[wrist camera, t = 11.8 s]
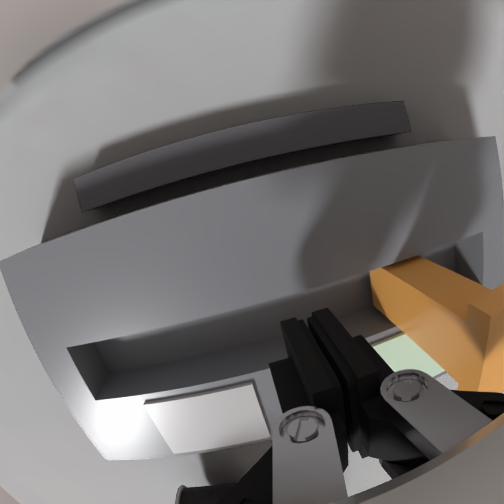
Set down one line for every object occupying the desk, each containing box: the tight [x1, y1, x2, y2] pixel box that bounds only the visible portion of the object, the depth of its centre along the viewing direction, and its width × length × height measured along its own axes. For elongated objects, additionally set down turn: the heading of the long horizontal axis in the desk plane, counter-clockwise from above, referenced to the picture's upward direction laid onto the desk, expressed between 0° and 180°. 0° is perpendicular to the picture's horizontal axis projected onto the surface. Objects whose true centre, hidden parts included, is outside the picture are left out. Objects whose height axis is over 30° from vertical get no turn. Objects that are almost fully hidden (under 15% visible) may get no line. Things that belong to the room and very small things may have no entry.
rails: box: [74, 101, 411, 212], centre depth 15 cm, size 16×17×2 cm
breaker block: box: [0, 136, 504, 460], centre depth 14 cm, size 24×12×4 cm, turn 104°
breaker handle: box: [369, 255, 504, 393], centre depth 10 cm, size 2×4×8 cm, turn 14°
